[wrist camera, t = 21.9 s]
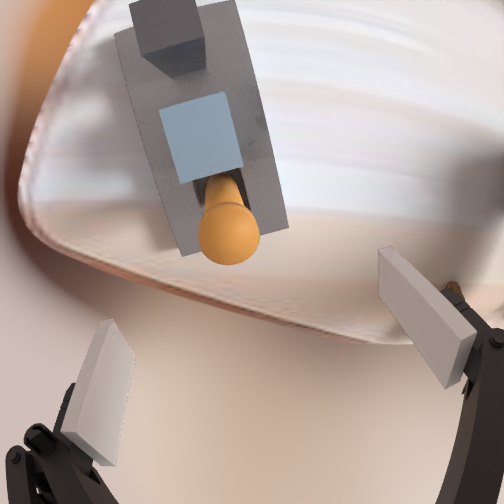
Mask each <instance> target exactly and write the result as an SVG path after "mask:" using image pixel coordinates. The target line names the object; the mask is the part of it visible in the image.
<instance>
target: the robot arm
mask: <svg viewBox="0 0 504 504" xmlns="http://www.w3.org/2000/svg"><path fill="white" fill-rule="evenodd" d="M378 282H379V297H380V299H381V300H382V301H383V303H384V304H385V305H386V307H387V308H388V309H389V311H390V312H391V313H392V315H393V316H394V317H395V319H396V320H397V321H398V323H399V324H400V325H401V327H402V328H403V330H404V331H405V332H406V334H407V335H408V336H409V338H410V339H411V341H412V342H413V343H414V345H415V346H416V348H417V349H418V351H419V352H420V353H421V355H422V356H423V358H424V359H425V360H426V362H427V363H428V365H429V366H430V368H431V369H432V371H433V372H434V374H435V375H436V377H437V378H438V380H439V381H440V383H441V384H442V386H443V387H444V389H446V388H448V387H450V386H452V385H454V384H456V383H458V382H459V381H460V380H461V377H462V375H463V372H464V373H465V374H466V376H467V377H468V379H467V382H466V384H465V386H464V389H463V391H462V394H464V393H465V394H464V401H463V406H462V411H461V416H460V421H459V426H458V431H457V435H456V439H455V443H454V447H453V451H452V454H451V458H450V461H449V465H448V468H447V472H446V475H445V478H444V481H443V484H442V487H441V490H440V493H439V496H438V498H437V501H436V503H435V504H496V503H497V499H498V496H499V491H500V488H501V483H502V479H503V474H504V330H503V329H499V328H491V327H490V326H489V325H488V324H487V323H486V322H485V321H484V320H483V319H482V318H481V317H480V316H479V315H478V314H477V313H476V312H475V311H474V310H473V309H472V308H470V306H469V305H468V304H467V303H466V302H464V300H463V299H462V298H461V297H460V296H459V295H458V294H457V293H455V292H453V291H451V290H449V289H444V290H442V291H440V292H439V291H438V290H437V289H436V288H435V287H434V286H433V285H432V284H431V283H430V282H429V281H428V280H427V279H426V278H425V277H424V276H423V275H422V274H421V273H420V272H419V271H418V270H417V269H416V268H415V267H414V266H413V265H412V264H411V263H410V262H408V261H407V260H406V259H405V258H404V257H403V256H402V255H401V254H400V253H399V252H398V251H397V250H395V249H394V248H393V247H392V246H389V247H386V248H382V249H379V250H378ZM135 360H136V356H135V355H134V353H133V352H132V350H131V349H130V347H129V345H128V344H127V342H126V340H125V339H124V337H123V336H122V334H121V332H120V331H119V329H118V327H117V325H116V324H115V322H114V320H113V319H108V320H103V321H100V322H99V325H98V327H97V330H96V332H95V334H94V337H93V340H92V342H91V344H90V347H89V349H88V352H87V355H86V357H85V360H84V362H83V365H82V368H81V371H80V373H79V376H78V379H77V382H76V383H72V384H71V385H70V387H69V388H68V390H67V391H66V393H65V396H64V399H63V403H62V405H61V407H60V408H61V410H59V414H58V417H57V420H56V423H55V426H54V429H53V432H51V431H50V430H49V429H48V428H47V427H46V426H44V425H43V424H41V423H37V424H34V425H32V426H31V427H30V428H29V429H28V430H27V431H26V433H25V436H24V444H25V445H26V446H27V447H28V448H29V449H31V450H30V451H26V450H25V449H24V448H23V447H21V446H19V445H16V446H14V447H12V448H10V450H9V451H8V453H7V455H6V460H5V462H6V480H7V491H8V500H9V504H119V503H118V502H117V500H116V499H115V498H114V496H113V495H112V493H111V492H110V491H109V489H108V487H107V486H106V484H105V483H104V481H103V480H102V478H101V477H100V475H99V474H98V472H97V470H96V469H95V468H94V467H93V466H92V463H93V460H94V461H96V462H97V463H98V464H100V465H101V466H116V463H117V455H118V449H119V443H120V437H121V431H122V425H123V419H124V414H125V408H126V403H127V398H128V393H129V388H130V383H131V378H132V374H133V369H134V365H135ZM36 488H38V491H39V494H38V493H37V490H36Z"/></svg>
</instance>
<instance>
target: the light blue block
mask: <svg viewBox="0 0 504 504" xmlns="http://www.w3.org/2000/svg"><path fill="white" fill-rule="evenodd" d="M159 113H160V117H161V120H162V124H163V127H164V131H165V134H166V138H167V141H168V144H169V148H170V151H171V154H172V158H173V161H174V164H175V168H176V171H177V174H178V177H179V180H180V184H183V183H186V182H189V181H193V180H196V179H200V178H203V177H207V176H210V175H214V174H217V173H221V172H225V171H228V170H232V169H236V168H240V167H244V165H243V161H242V157H241V153H240V149H239V145H238V141H237V137H236V133H235V129H234V125H233V121H232V117H231V114H230V110H229V106H228V102H227V98H226V94H225V91H223V92H219V93H216V94H212V95H208V96H204V97H200V98H197V99H193V100H190V101H186V102H183V103H180V104H177V105H173V106H170V107H167V108H164V109H161V110H159Z"/></svg>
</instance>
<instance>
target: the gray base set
mask: <svg viewBox="0 0 504 504" xmlns="http://www.w3.org/2000/svg"><path fill="white" fill-rule="evenodd" d="M129 8H130V13H131V17H132V21H133V26H134V27H131V28H128V29H126V30H123V31H120V32H118V33H115V34H114V36H115V40H116V45H117V49H118V53H119V57H120V61H121V65H122V69H123V73H124V77H125V81H126V85H127V88H128V92H129V96H130V99H131V103H132V107H133V110H134V114H135V117H136V121H137V124H138V127H139V131H140V134H141V137H142V141H143V144H144V147H145V151H146V154H147V157H148V160H149V163H150V166H151V170H152V173H153V176H154V179H155V182H156V185H157V188H158V191H159V194H160V197H161V200H162V203H163V205H164V208H165V211H166V214H167V217H168V220H169V223H170V225H171V228H172V231H173V234H174V237H175V239H176V242H177V245H178V247H179V250H180V253H181V255H182V257H183V256H187V255H190V254H194V253H198V252H201V251H202V250H201V248H200V246H199V241H198V232H199V223H200V220H201V218H202V216H203V214H204V211H203V208H202V204H201V201H200V198H199V195H198V191H197V188H196V185H195V181H194V180H193V181H189V182H186V183H183V184H180V180H179V177H178V174H177V171H176V168H175V164H174V161H173V158H172V154H171V151H170V148H169V144H168V141H167V138H166V134H165V131H164V127H163V124H162V120H161V117H160V113H159V110H161V109H164V108H167V107H170V106H173V105H177V104H180V103H183V102H186V101H190V100H193V99H197V98H200V97H204V96H208V95H212V94H216V93H219V92H223V91H225V94H226V98H227V102H228V106H229V110H230V114H231V117H232V121H233V125H234V129H235V133H236V137H237V141H238V145H239V149H240V153H241V157H242V161H243V165H244V167H240V172H241V176H242V180H243V184H244V188H245V192H246V196H247V200H248V204H244V206H245V207H246V208H247V209H249V210H250V212H251V213H252V214H253V216H254V218H255V220H256V223H257V225H258V228H259V233H260V235H264V234H267V233H271V232H275V231H279V230H282V229H286V228H289V225H288V220H287V215H286V210H285V205H284V201H283V196H282V191H281V186H280V181H279V177H278V172H277V168H276V163H275V158H274V154H273V149H272V145H271V141H270V136H269V132H268V127H267V123H266V119H265V115H264V110H263V106H262V102H261V98H260V94H259V90H258V86H257V82H256V78H255V74H254V70H253V66H252V62H251V58H250V54H249V51H248V47H247V43H246V39H245V35H244V32H243V28H242V24H241V21H240V17H239V14H238V10H237V7H236V3H235V0H229V1H224V2H218V3H214V4H209V5H205V6H200V7H197V6H196V2H195V0H140V1H137V2H134V3H131V4H129Z"/></svg>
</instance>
